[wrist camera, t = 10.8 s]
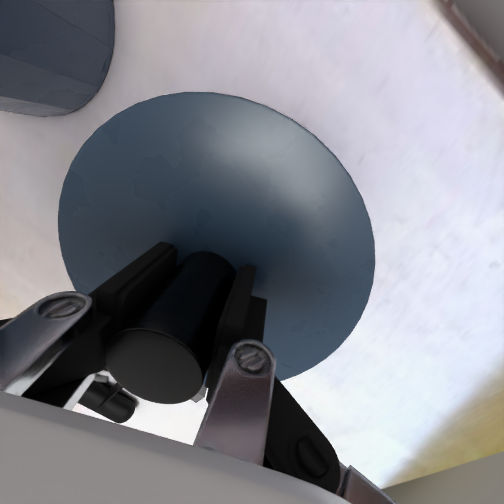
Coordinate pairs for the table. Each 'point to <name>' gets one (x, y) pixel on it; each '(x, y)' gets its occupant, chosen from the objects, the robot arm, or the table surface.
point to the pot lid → (216, 234)
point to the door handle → (114, 400)
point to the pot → (53, 54)
